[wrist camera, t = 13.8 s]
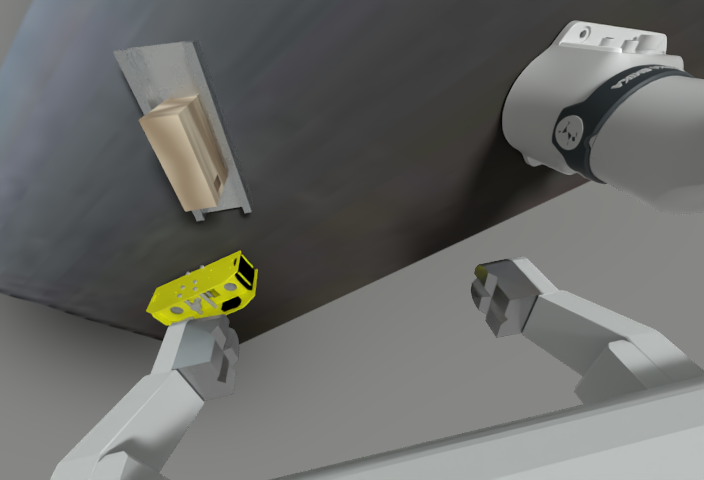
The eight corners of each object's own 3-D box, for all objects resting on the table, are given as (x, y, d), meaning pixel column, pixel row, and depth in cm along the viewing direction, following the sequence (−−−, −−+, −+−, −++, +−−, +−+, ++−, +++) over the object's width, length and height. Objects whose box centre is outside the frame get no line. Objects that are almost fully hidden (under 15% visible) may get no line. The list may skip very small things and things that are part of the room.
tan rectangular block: (198, 95, 34) (178, 114, 28) (228, 175, 40) (217, 206, 34) (165, 99, 34) (137, 120, 28) (200, 180, 40) (184, 211, 34)
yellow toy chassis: (181, 302, 54) (166, 343, 47) (156, 283, 50) (137, 324, 44) (259, 268, 52) (255, 305, 46) (240, 245, 49) (232, 282, 42)
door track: (199, 39, 32) (192, 41, 30) (253, 201, 44) (251, 212, 42) (125, 48, 31) (112, 51, 29) (201, 209, 44) (196, 221, 41)
